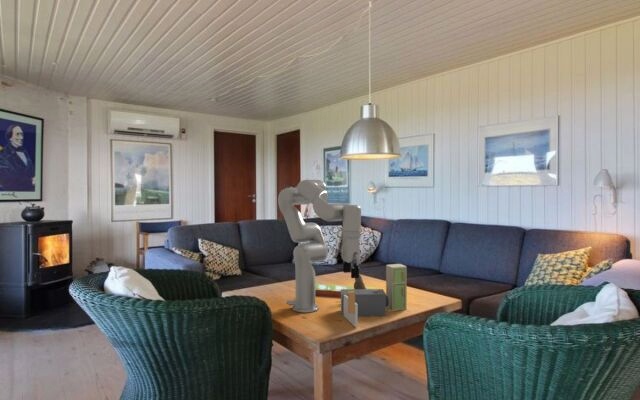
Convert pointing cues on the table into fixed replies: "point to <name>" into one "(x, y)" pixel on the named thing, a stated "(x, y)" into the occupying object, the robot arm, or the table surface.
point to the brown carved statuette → (359, 283)
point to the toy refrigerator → (396, 286)
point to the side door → (351, 308)
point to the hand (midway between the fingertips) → (350, 275)
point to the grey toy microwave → (368, 301)
